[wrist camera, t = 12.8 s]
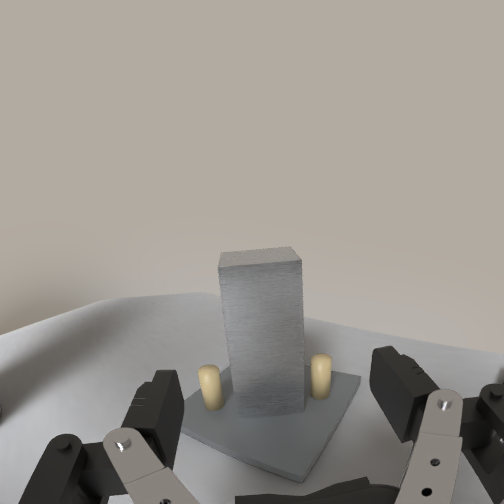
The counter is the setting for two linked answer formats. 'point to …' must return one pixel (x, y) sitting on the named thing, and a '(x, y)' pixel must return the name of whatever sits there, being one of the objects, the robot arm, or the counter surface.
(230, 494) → the counter surface
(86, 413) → the counter surface
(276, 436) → the grey plate with pegs
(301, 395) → the grey upright block
